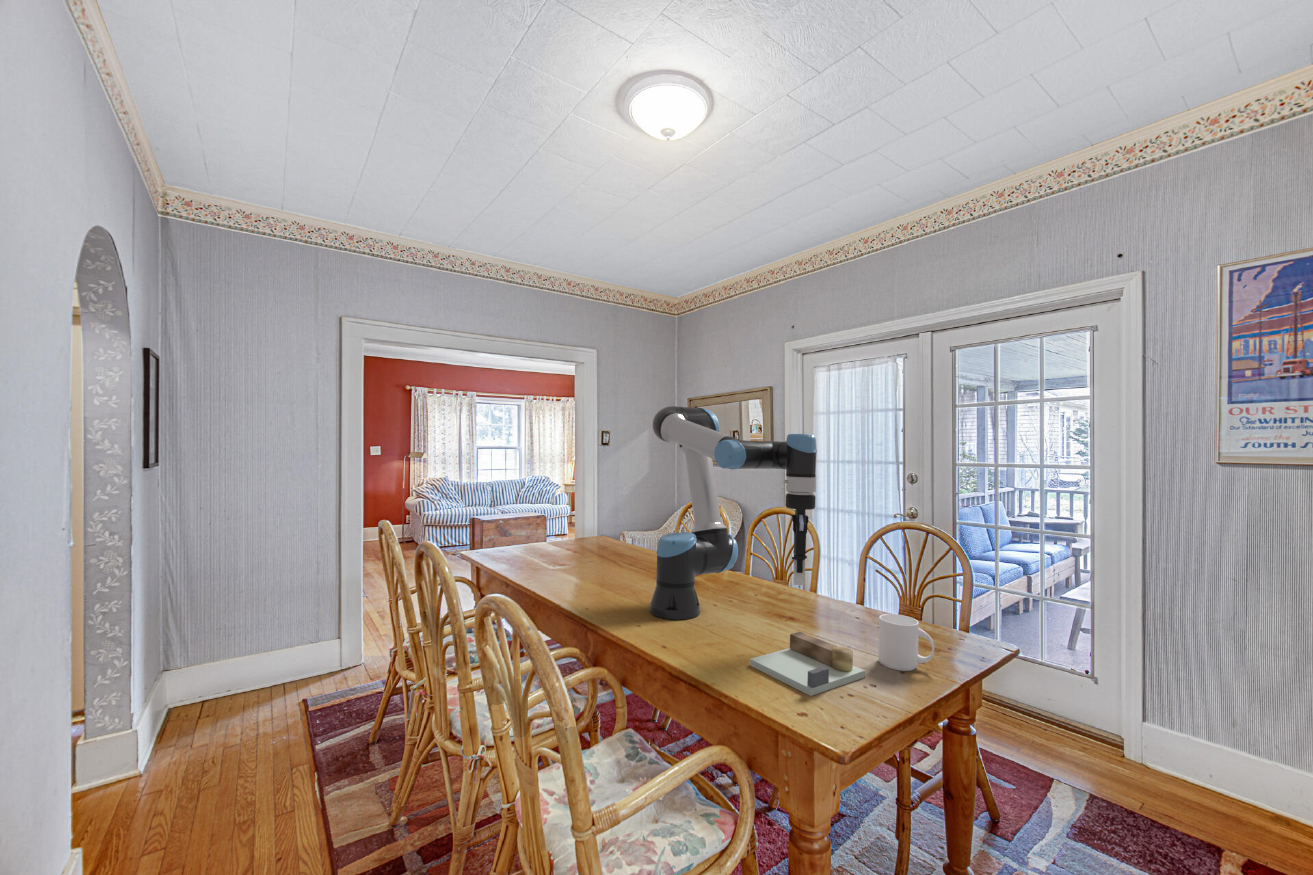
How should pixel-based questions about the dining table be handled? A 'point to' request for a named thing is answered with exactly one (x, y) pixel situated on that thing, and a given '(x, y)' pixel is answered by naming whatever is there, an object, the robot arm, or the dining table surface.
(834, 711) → the dining table surface
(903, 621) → the mug
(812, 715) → the dining table surface
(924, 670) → the dining table surface
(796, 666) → the seat board
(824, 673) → the block
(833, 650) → the leg
